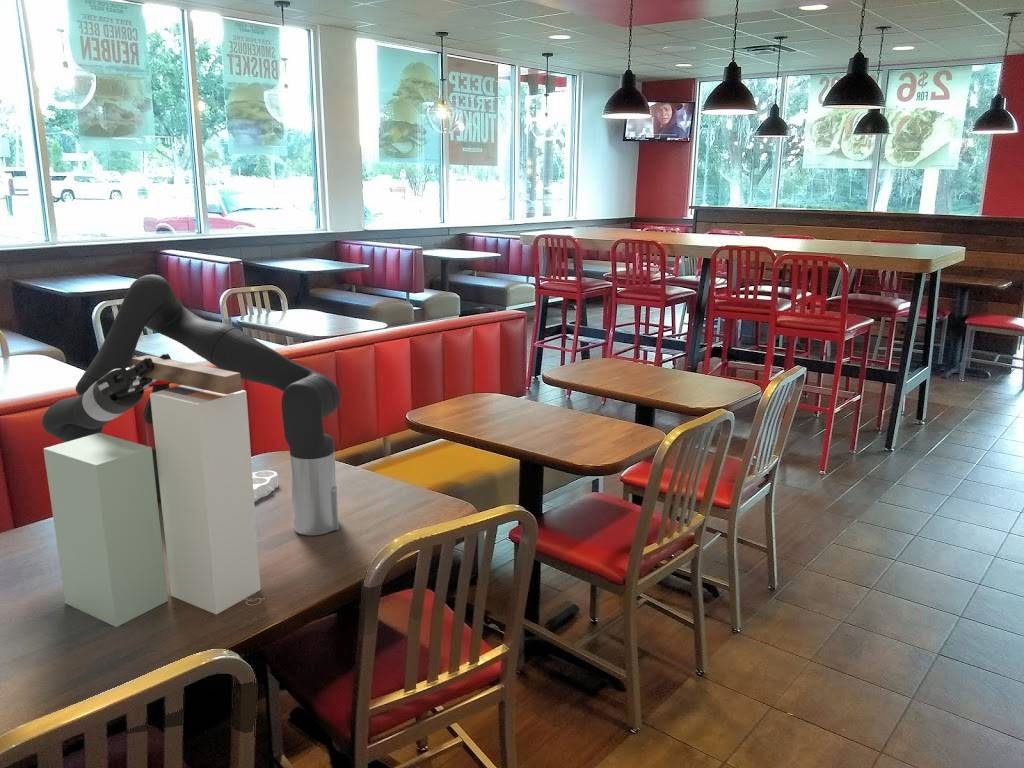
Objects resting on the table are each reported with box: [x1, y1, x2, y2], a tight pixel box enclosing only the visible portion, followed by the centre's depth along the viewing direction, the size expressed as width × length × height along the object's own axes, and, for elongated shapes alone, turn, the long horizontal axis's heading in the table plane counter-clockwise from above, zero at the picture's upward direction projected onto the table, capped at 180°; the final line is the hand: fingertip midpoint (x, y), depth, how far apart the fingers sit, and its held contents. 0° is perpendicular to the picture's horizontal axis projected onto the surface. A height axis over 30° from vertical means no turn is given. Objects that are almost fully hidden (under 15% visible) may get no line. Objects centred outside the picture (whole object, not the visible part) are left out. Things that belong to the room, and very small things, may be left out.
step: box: [42, 432, 169, 628], centre depth 138 cm, size 14×10×29 cm
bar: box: [131, 354, 243, 395], centre depth 136 cm, size 24×3×3 cm, turn 60°
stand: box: [149, 385, 262, 615], centre depth 140 cm, size 12×10×38 cm
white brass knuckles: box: [252, 470, 279, 503], centre depth 189 cm, size 3×18×15 cm
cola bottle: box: [142, 380, 171, 501], centre depth 183 cm, size 8×8×30 cm
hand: (159, 360), depth 139 cm, fingers closed on bar, 3 cm apart
